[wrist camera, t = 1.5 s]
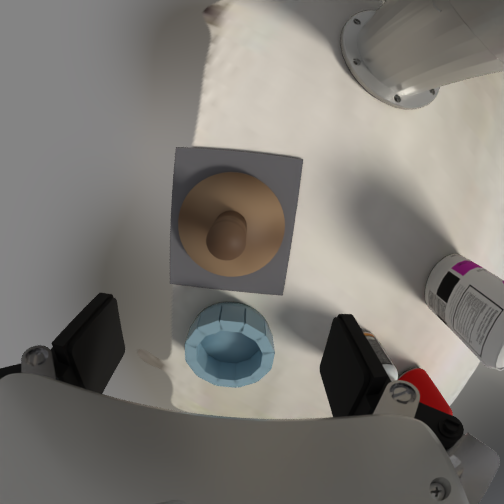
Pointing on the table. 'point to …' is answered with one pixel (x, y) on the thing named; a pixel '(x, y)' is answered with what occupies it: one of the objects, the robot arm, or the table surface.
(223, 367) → the bowl
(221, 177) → the lid
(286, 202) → the mat
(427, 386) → the beverage can
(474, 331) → the supplement can
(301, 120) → the table surface
